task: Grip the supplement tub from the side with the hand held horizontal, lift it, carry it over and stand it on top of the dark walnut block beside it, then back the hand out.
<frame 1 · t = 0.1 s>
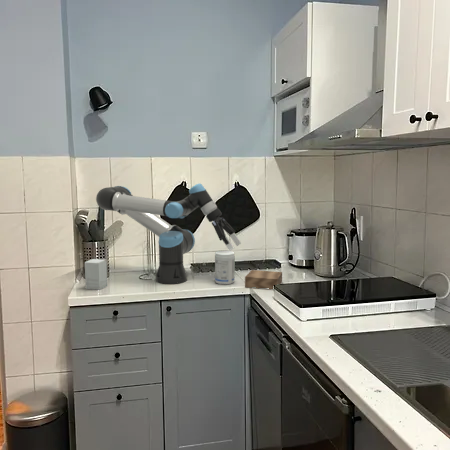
hand: (235, 247, 231), 16 cm above the worktop, tool tilted 35°, fingers open, 13 cm apart
walnut block: (263, 284, 221), on the worktop
supplement box: (96, 287, 215), on the worktop
supplement tub: (224, 282, 225), on the worktop, touching gripper
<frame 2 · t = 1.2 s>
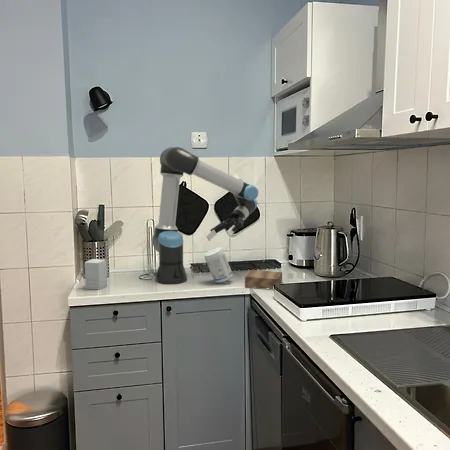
hand: (218, 236, 229), 21 cm above the worktop, tool tilted 65°, fingers open, 13 cm apart
supplement tub: (224, 279, 225), point 2 cm above the worktop
everything else where it was.
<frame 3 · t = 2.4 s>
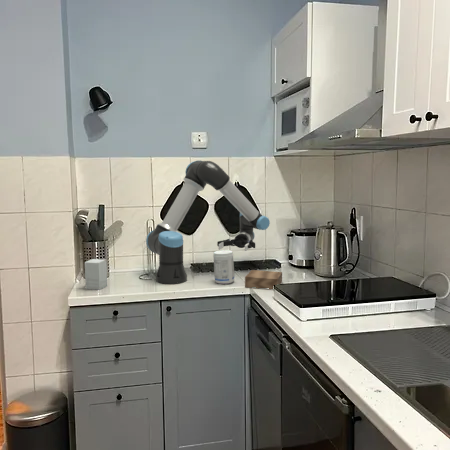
hand: (232, 247, 234), 15 cm above the worktop, tool horizontal, fingers open, 13 cm apart
supplement tub: (224, 282, 225), on the worktop
everything else where it was.
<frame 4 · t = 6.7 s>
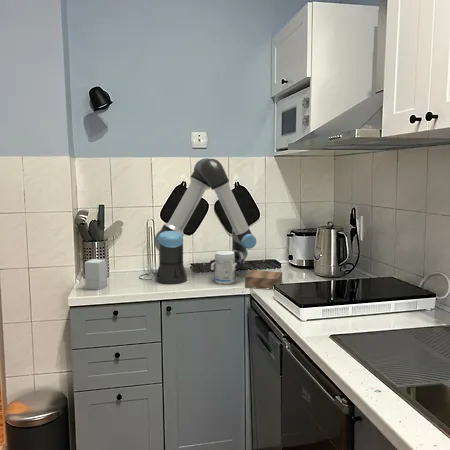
hand: (222, 267, 220), 8 cm above the worktop, tool horizontal, fingers closed on supplement tub, 9 cm apart
supplement tub: (224, 282, 225), on the worktop, touching gripper
everything else where it was.
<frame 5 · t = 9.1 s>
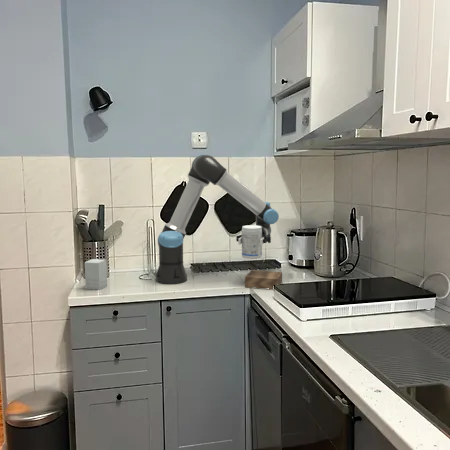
hand: (249, 242, 216), 21 cm above the worktop, tool horizontal, fingers closed on supplement tub, 9 cm apart
supplement tub: (251, 257, 222), point 13 cm above the worktop, touching gripper
everything else where it was.
when the fingers open (14 cm above the worktop, at t = 11.7 s): supplement tub drops 1 cm, resting on walnut block.
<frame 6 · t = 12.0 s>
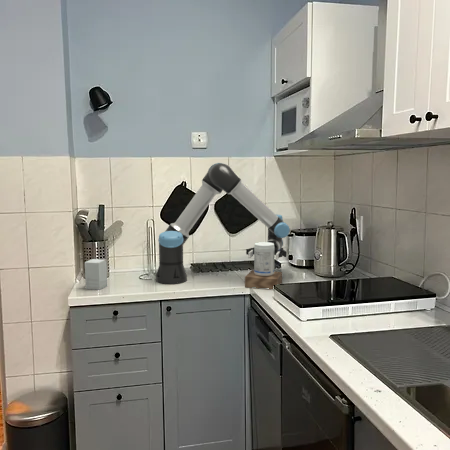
hand: (262, 256, 215), 14 cm above the worktop, tool horizontal, fingers open, 12 cm apart
supplement tub: (264, 274, 220), point 5 cm above the worktop, touching walnut block
everything else where it was.
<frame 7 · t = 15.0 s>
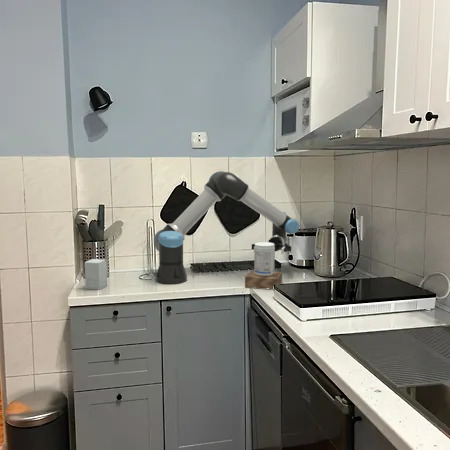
hand: (268, 250, 228), 15 cm above the worktop, tool horizontal, fingers open, 13 cm apart
nothing on the worktop moved.
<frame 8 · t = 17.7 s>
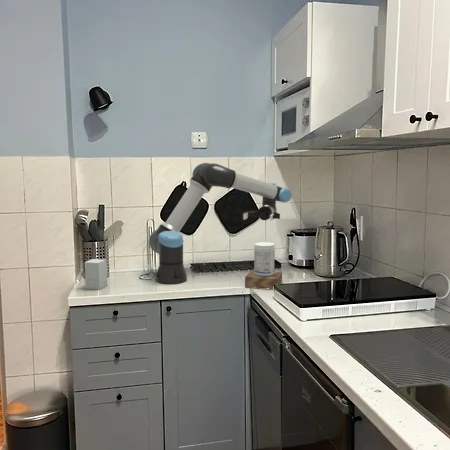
hand: (257, 217, 234), 30 cm above the worktop, tool horizontal, fingers open, 13 cm apart
nothing on the worktop moved.
at the end: supplement tub inside the target area on the walnut block (0.2 cm from its centre), point 4.8 cm above the walnut block's base; supplement tub tilted 0°; the gripper is holding nothing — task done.
